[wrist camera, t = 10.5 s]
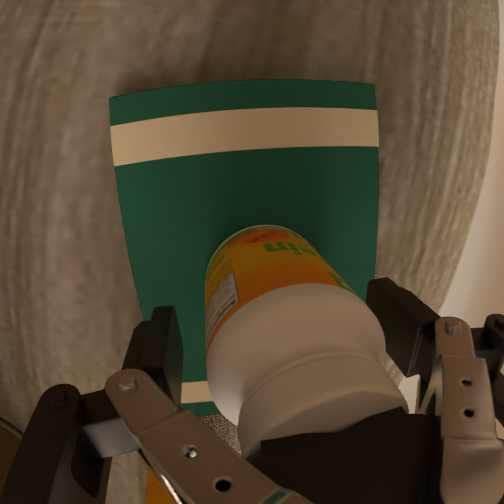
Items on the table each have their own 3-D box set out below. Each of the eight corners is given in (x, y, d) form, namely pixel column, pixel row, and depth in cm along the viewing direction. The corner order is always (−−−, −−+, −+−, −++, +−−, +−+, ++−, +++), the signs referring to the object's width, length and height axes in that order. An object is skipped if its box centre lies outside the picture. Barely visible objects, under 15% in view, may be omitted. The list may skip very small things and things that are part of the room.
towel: (114, 100, 12) (107, 97, 11) (365, 86, 13) (375, 84, 12) (174, 406, 18) (173, 418, 17) (353, 379, 20) (358, 389, 19)
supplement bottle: (336, 248, 15) (470, 377, 6) (285, 338, 16) (350, 499, 7) (234, 202, 14) (289, 328, 4) (187, 306, 15) (180, 492, 6)
